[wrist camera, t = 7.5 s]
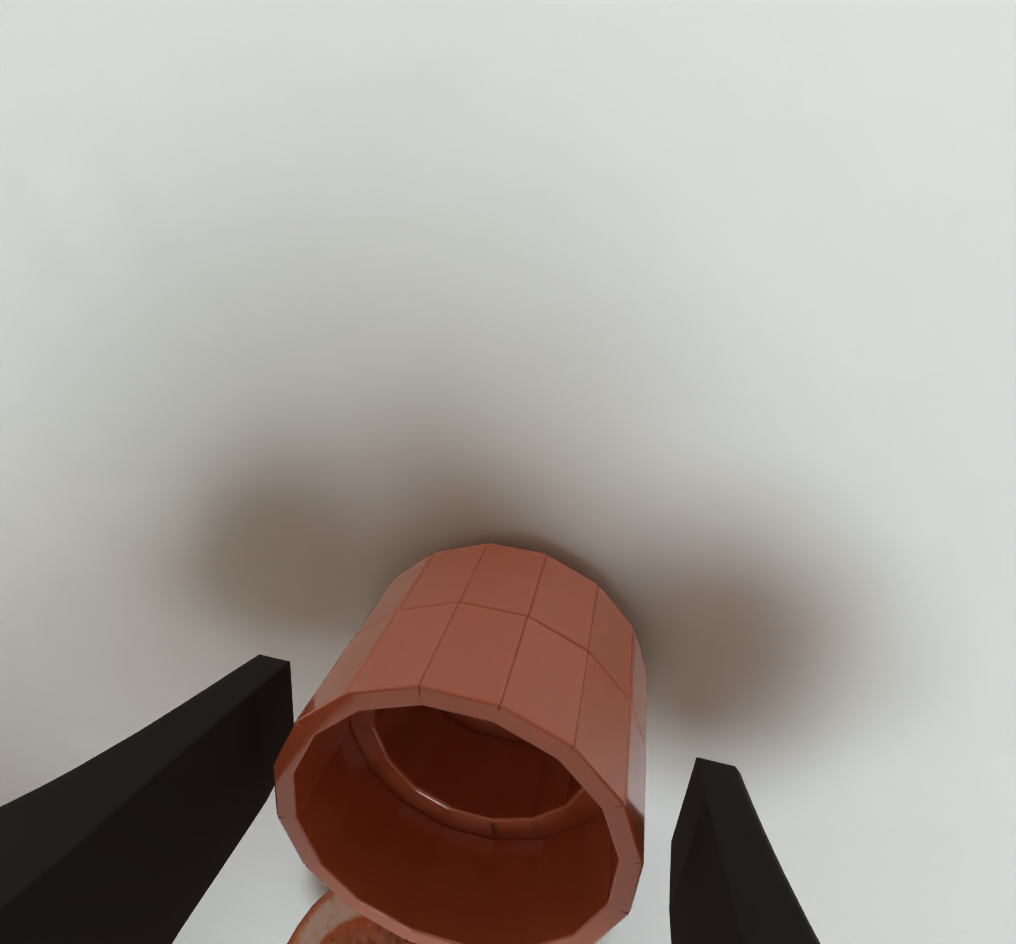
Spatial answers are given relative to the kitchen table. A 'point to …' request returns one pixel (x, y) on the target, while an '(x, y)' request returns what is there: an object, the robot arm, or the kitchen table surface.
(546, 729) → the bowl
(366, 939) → the fruit slice
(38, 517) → the kitchen table surface
